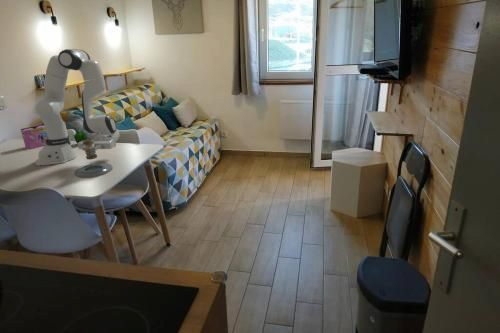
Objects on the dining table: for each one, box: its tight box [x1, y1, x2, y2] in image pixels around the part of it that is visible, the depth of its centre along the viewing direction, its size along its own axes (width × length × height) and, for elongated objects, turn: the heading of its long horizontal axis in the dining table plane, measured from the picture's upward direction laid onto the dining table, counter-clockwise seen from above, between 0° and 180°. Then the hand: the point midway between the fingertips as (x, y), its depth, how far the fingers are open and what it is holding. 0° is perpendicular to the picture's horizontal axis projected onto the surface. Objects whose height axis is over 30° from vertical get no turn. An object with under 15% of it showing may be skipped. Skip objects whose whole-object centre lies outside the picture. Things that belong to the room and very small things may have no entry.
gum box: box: [20, 124, 48, 150], centre depth 249 cm, size 24×8×14 cm, turn 136°
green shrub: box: [73, 129, 88, 145], centre depth 248 cm, size 8×8×10 cm
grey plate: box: [74, 162, 113, 179], centre depth 200 cm, size 20×20×2 cm
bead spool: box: [83, 138, 98, 160], centre depth 195 cm, size 6×6×10 cm
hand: (88, 149), depth 194 cm, fingers closed on bead spool, 5 cm apart
